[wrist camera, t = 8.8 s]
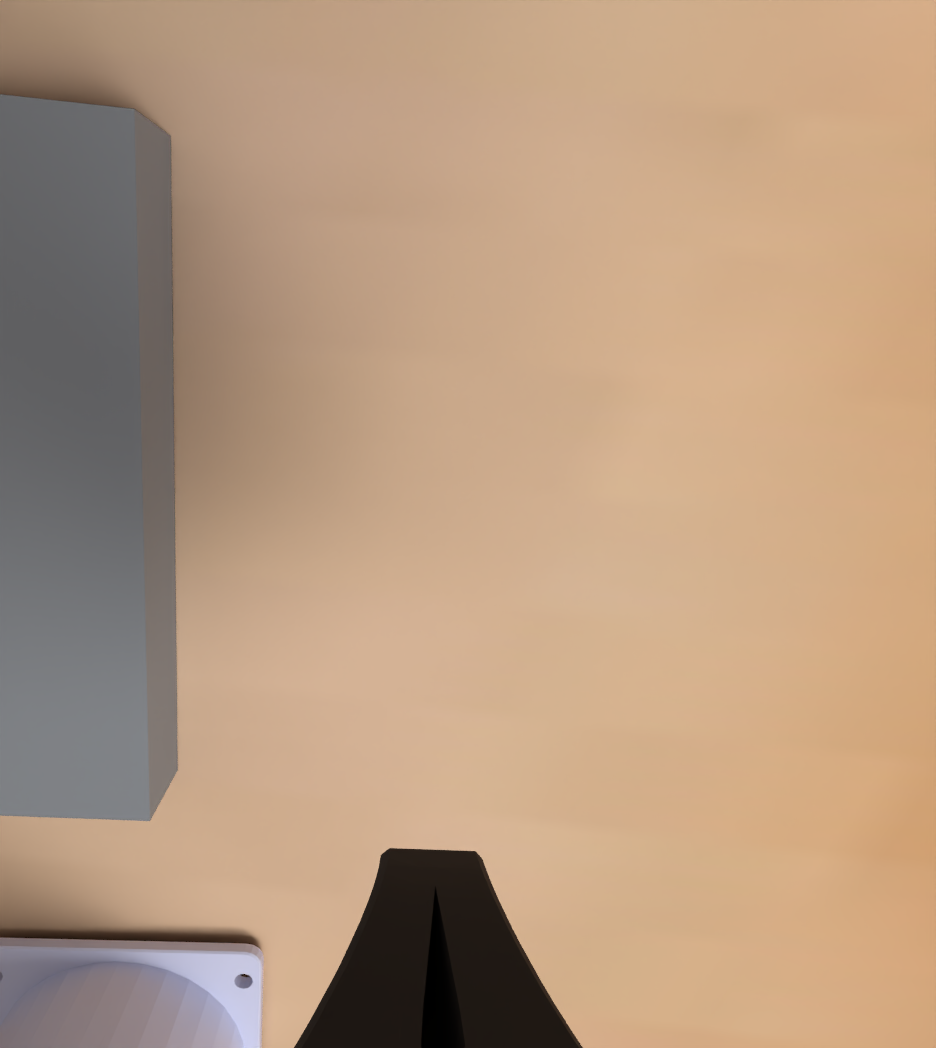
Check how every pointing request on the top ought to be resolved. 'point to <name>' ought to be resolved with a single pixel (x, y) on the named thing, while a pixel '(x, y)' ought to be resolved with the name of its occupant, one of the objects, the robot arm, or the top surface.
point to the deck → (86, 462)
